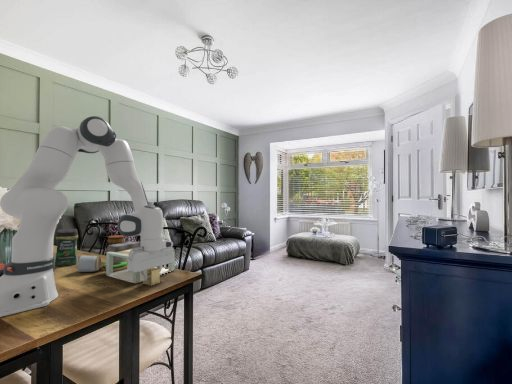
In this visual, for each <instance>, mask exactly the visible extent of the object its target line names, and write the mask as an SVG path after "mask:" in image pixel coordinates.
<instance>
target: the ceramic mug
mask: <svg viewBox="0 0 512 384" xmlns="http://www.w3.org/2000/svg"><path fill="white" fill-rule="evenodd" d="M101 264H102V259H101V257H100V256H98V255H85V254H84V255H83V254H82V255H80V257H79V258H78V262H77V271H78V273H89V272H90V273H92V272H98V271H99V270H100V268H101Z"/></svg>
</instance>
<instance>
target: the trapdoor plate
mask: <svg viewBox="0 0 512 384" xmlns="http://www.w3.org/2000/svg"><path fill="white" fill-rule="evenodd" d="M140 243H141V241H135V240H134V241H132V240H131V241H128V242H123V243H119V244H108V245H107V247H108V252H116V253H121V254H126V255H129V252H130V251H131V250H132V249H133V248H138V247H140ZM113 257H114V258H116V256H113Z"/></svg>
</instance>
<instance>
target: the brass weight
mask: <svg viewBox="0 0 512 384" xmlns="http://www.w3.org/2000/svg"><path fill="white" fill-rule="evenodd" d="M146 274H147V275H148V276H149V280H146V281H143V285H146V286H150V285H151V286H150V287H153V286H156V285H158V283H159V284H160V281H161V279H160V278H161V276H160V269H159V268H151V269H147V272H146ZM155 284H156V285H155ZM152 285H153V286H152Z"/></svg>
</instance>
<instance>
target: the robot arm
mask: <svg viewBox="0 0 512 384" xmlns="http://www.w3.org/2000/svg"><path fill="white" fill-rule="evenodd" d="M99 152H100V153H101V155H102V156H103V159H104V163H105V169H106V173H107V174H106V175H107V176H108V178H109V180H110V182H112V184H114V185H115V186H118V187H120V188H121V189H122V190H124V191H125V192H127V194H128V195H129V196H130V198H131V201H132V202H131V203H132V205H133V209H134V211H133V212H131V213H127V214H124V215H122V216H120V217H119V219H118V221H117V230H118V232H119V234H120V235H123V236H124V238H125V237H126V238H128V237H129V238H131V237H136V236H137V237H138V236H139V237H140V242H141V243H140V247H138V248H133V249H132V250H131V251H130V252H129V259H128V261H127V265H126V266H127V268H126V269H127V270H128V271H129V272H131V273H136V272H140V271H141V274H142V275H143V280H144V281H146V280H149V276H148V275H147V274H146V272H147V269H151V268H154V267H156V268H159V269H160V271H161V269H162V267H163V266H165V265H169V263H172V261H173V249H174V248H173V246H174V242H173V241H170V240H166V239H164V234H163V231H164V230H163V229H164V213H163V210H162V208H160V207H159V206H156V205H150V204H149V201H148V198H147V195H146V192H145V187H144V185H143V183H142V180H141V179H140V177H139V175H138V171H137V169H136V168H137V167H136V164H135V159H134V156H133V153H132V150H131V147H130V145H129V143H128V141H126V140H125V139H123V138H117V134H116V133H115V131H114V130H113V129H112V127H111V125H110V123H108V121H107V120H106V119H105V118H102V117H100V116H94V115H93V116H88V117H86V118H84V119H83V120H82V121H81V122H80V124H79V126H78V127H77V128H70V127H68V126H63V125H62V126H61V125H57V126H54V127H52V128H51V129H50V130H49V131H48V132H47V134H46V135H45V136H44V137H43V139H42V141H41V142H40V145H39V146H38V148H37V150H36V151H35V154H34V156H33V158H32V160H31V162H30V164H29V166H28V167H27V168H26V170H25V171H24V172H23V174H22V175H21V176H20V177H19V179H18V180H17V181H16V182H15V184H14V185H13V186H12V187H11V189H9V190H8V191H7V192H5V193H4V194H3V195H2V197H1V198H0V209H1V210H2V211H3V212H4V213H6V214H7V215H8V216H11V217H12V218H17V219H20V222H19V226H18V229H17V231H16V233H15V234H14V235H13V236H12V239H11V260H10V262H8V263H7V264H6V263H0V271H3V274H2V275H1V276H0V318H2V317H5V316H10V315H15V314H18V313H22V312H26V311H30V310H34V309H39V308H41V307H42V308H43V307H47V306H49V305H50V303H51V302H52V301H54V300H56V299H57V298H59V293H58V291H57V287H56V281H55V274H54V272H55V268H56V265H55V256H54V240H55V239H54V238H55V234H56V233H55V232H56V229H57V226H58V224H59V223H58V222H59V221H60V218H61V216H62V215H64V214H65V213H66V211H67V208H68V206H69V200H68V198H67V196H66V195H65V194H64V192H63V191H60V190H57V189H55V188H57V186H58V185H59V184H60V183H62V182H64V180H66V178H67V176H68V173H69V172H70V169H71V167H72V165H73V161H74V160H75V157H76V155H77V153H84V154H95V153H99ZM144 281H143V282H144Z"/></svg>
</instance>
